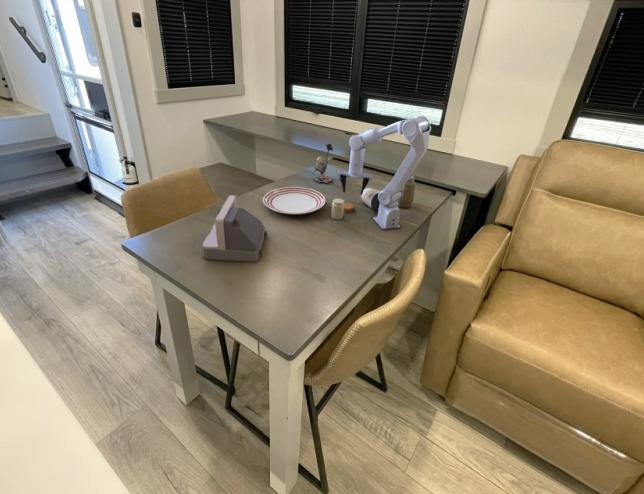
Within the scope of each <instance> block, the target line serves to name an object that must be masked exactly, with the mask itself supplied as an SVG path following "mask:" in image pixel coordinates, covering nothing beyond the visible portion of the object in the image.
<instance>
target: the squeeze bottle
mask: <svg viewBox="0 0 644 494" xmlns="http://www.w3.org/2000/svg"><path fill="white" fill-rule="evenodd" d="M415 178H416V177H415V176H414V175H413V173H412V174H411V175H410V177H409V179H408V180H407V182H406V183H405V185H404V187H405V188H404V190H403V195H402V197H401V198H400V199H399V200H398V207H400V208H404V209H407V208H410V207H411V205H412V204H413V203H414V199H415V193H416V192H415V190H416V182H415Z"/></svg>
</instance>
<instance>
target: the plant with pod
mask: <svg viewBox="0 0 644 494" xmlns="http://www.w3.org/2000/svg"><path fill="white" fill-rule="evenodd" d="M325 146H326V150H327V154H326V158H325V157H323V156H321V155H318V157H317V158H316V161H315V162H314V165H313V166H314V171H313V172H312V175H314V174H315V173H316V172H317V171H318V173H320V176H318V177H317V178H315V179H314V181H316V182H318V183H321V182H322V183H325V184H328V183H329V182H332V181H334V180H333V179H331V178H329V176H328V175H326V170H327V168H328V163H329V162H328V159H327V158H328V156H329V152H330V151H332V152H334V150H333V149H334V146H333V144H332V143H331V142H329V143H326V145H325Z"/></svg>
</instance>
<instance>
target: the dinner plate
mask: <svg viewBox="0 0 644 494" xmlns="http://www.w3.org/2000/svg"><path fill="white" fill-rule="evenodd" d="M262 203H263V205H264V206H265V207H266V208H267V209H270V210H272V211H273V212H276V213H279V214H284V215H290V216H291V215H297V216H298V215H306V214H310V213H313V212H316V211H318V210H320V209H321V208H323V207H324V206H325V205H326V196H324V194H323V193H321V192H320V191H318V190H315V189H312V188H308V187H301V186H286V187H280V188H279V187H278V188H275V189H272V190H270V191H269V192H267V193H266V194H265V195H264V196H263V198H262Z"/></svg>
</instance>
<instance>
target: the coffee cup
mask: <svg viewBox="0 0 644 494" xmlns="http://www.w3.org/2000/svg"><path fill="white" fill-rule="evenodd" d="M380 191H381V190H378V189H374V188H371V187H365V189H364V191H363V194H362V195H361V194H360V198H361V200H362V201H363V202H364V203H365V204H366V205H367V206H368V208H370V209H371V210H372V211H373V212H375V213H378V211H379V205H380V202H379V200H378V194H379V192H380Z"/></svg>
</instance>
